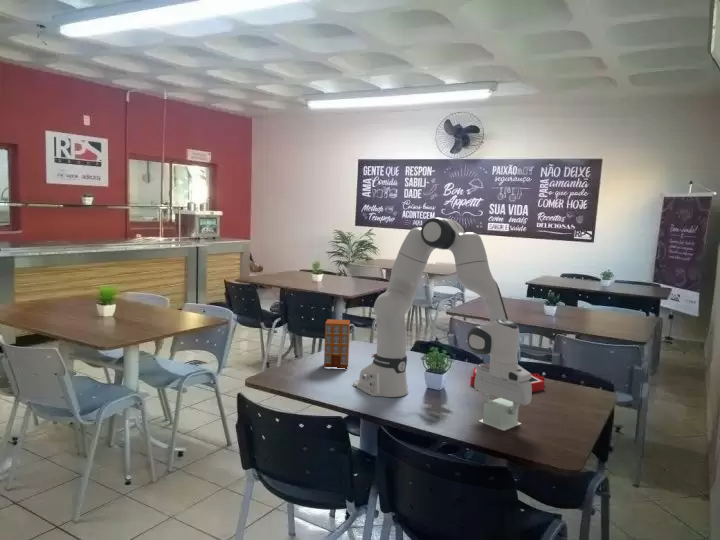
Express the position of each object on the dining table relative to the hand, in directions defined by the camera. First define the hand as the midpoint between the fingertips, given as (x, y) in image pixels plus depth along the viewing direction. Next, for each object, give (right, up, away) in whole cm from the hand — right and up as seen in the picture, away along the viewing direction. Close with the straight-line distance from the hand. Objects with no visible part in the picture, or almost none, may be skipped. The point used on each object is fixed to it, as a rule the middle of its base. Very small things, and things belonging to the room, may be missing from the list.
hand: (500, 410), depth 185 cm
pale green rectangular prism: (0, -4, +1) cm, 4 cm away
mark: (0, -4, 0) cm, 4 cm away
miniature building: (-57, +4, +58) cm, 81 cm away
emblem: (+13, -1, +46) cm, 48 cm away
